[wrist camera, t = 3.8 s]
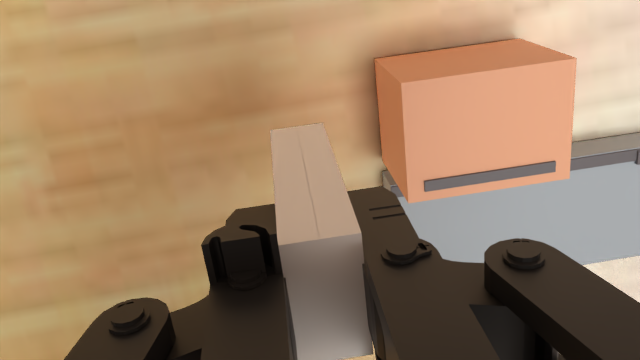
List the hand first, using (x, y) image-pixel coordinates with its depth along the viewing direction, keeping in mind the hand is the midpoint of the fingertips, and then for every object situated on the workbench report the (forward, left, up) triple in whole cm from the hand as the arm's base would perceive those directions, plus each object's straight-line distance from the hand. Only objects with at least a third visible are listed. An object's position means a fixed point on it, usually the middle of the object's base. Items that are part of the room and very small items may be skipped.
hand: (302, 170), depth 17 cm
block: (+7, -1, -8) cm, 10 cm away
